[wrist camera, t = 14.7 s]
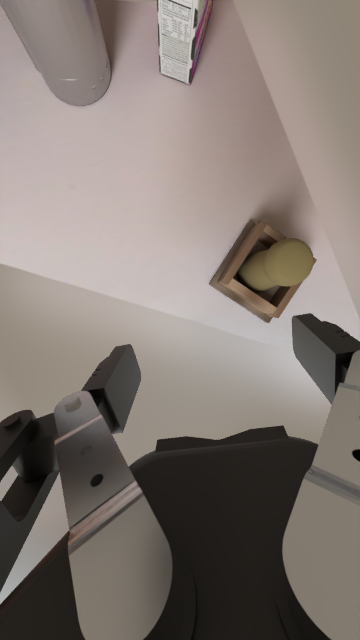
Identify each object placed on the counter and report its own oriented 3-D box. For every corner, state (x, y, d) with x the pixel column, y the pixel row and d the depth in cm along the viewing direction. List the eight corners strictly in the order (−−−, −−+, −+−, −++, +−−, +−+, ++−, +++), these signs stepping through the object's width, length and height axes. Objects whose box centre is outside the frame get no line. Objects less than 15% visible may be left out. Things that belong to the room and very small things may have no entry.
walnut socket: (208, 284, 36) (214, 282, 32) (248, 223, 36) (259, 212, 31) (266, 322, 37) (279, 325, 33) (304, 263, 37) (324, 258, 32)
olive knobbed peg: (232, 287, 36) (261, 281, 25) (241, 247, 35) (276, 224, 24) (270, 296, 36) (315, 295, 25) (280, 257, 36) (330, 238, 25)
